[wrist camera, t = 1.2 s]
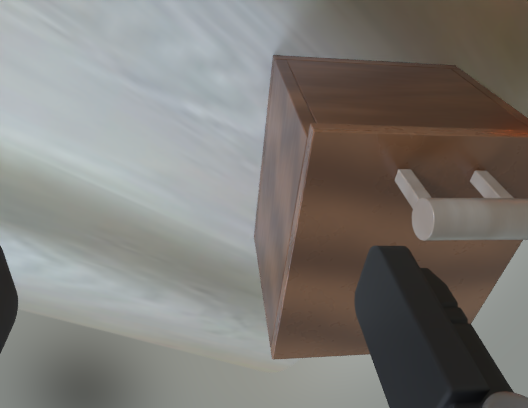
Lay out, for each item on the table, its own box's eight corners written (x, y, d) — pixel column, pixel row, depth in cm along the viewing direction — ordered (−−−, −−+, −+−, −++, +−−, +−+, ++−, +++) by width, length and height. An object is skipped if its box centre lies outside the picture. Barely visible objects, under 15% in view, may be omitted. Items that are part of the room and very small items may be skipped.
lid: (309, 122, 19) (339, 187, 15) (574, 131, 21) (663, 190, 17) (270, 349, 29) (281, 423, 25) (450, 340, 31) (486, 408, 27)
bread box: (272, 54, 29) (307, 137, 19) (455, 65, 31) (565, 145, 21) (253, 236, 39) (270, 349, 29) (392, 235, 41) (449, 340, 31)
